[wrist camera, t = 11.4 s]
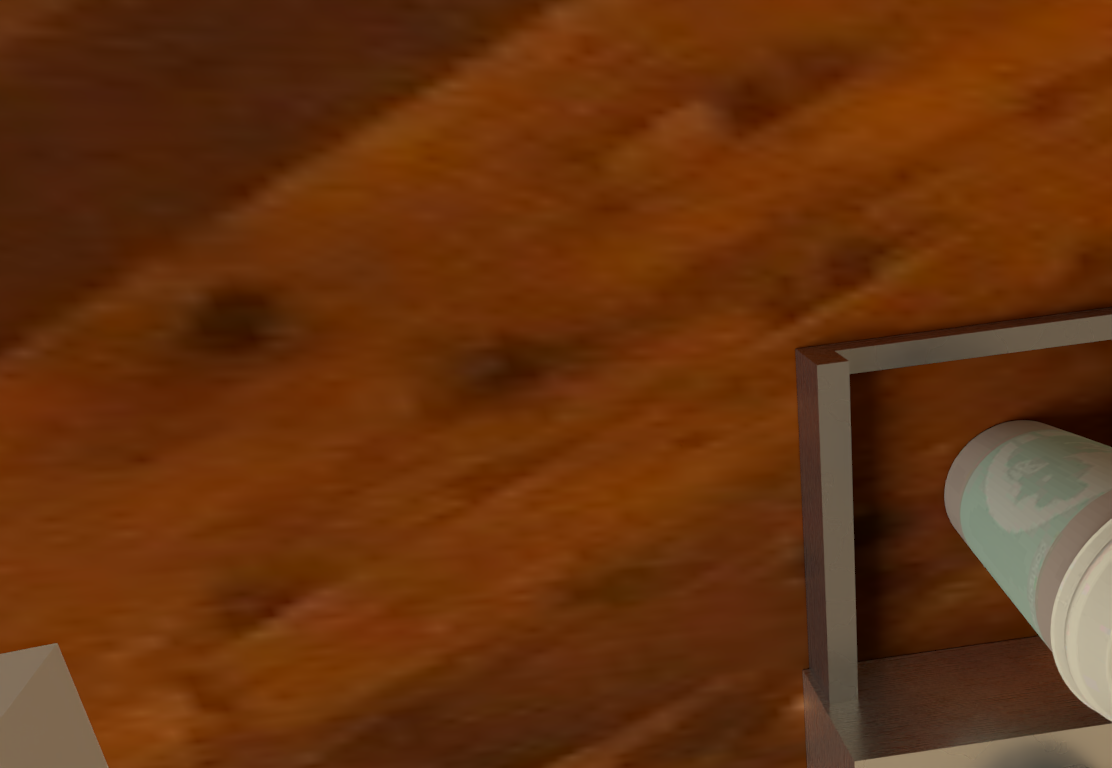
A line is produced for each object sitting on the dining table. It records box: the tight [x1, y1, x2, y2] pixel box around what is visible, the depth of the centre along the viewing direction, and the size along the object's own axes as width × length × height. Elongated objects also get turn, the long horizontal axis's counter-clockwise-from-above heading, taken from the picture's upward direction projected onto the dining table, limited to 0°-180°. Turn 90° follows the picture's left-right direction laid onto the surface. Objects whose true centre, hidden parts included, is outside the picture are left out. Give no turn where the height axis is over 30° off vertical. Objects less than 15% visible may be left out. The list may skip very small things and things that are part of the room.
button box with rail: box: [795, 307, 1112, 768], centre depth 37 cm, size 24×16×8 cm, turn 7°
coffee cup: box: [944, 420, 1112, 721], centre depth 33 cm, size 8×9×12 cm
